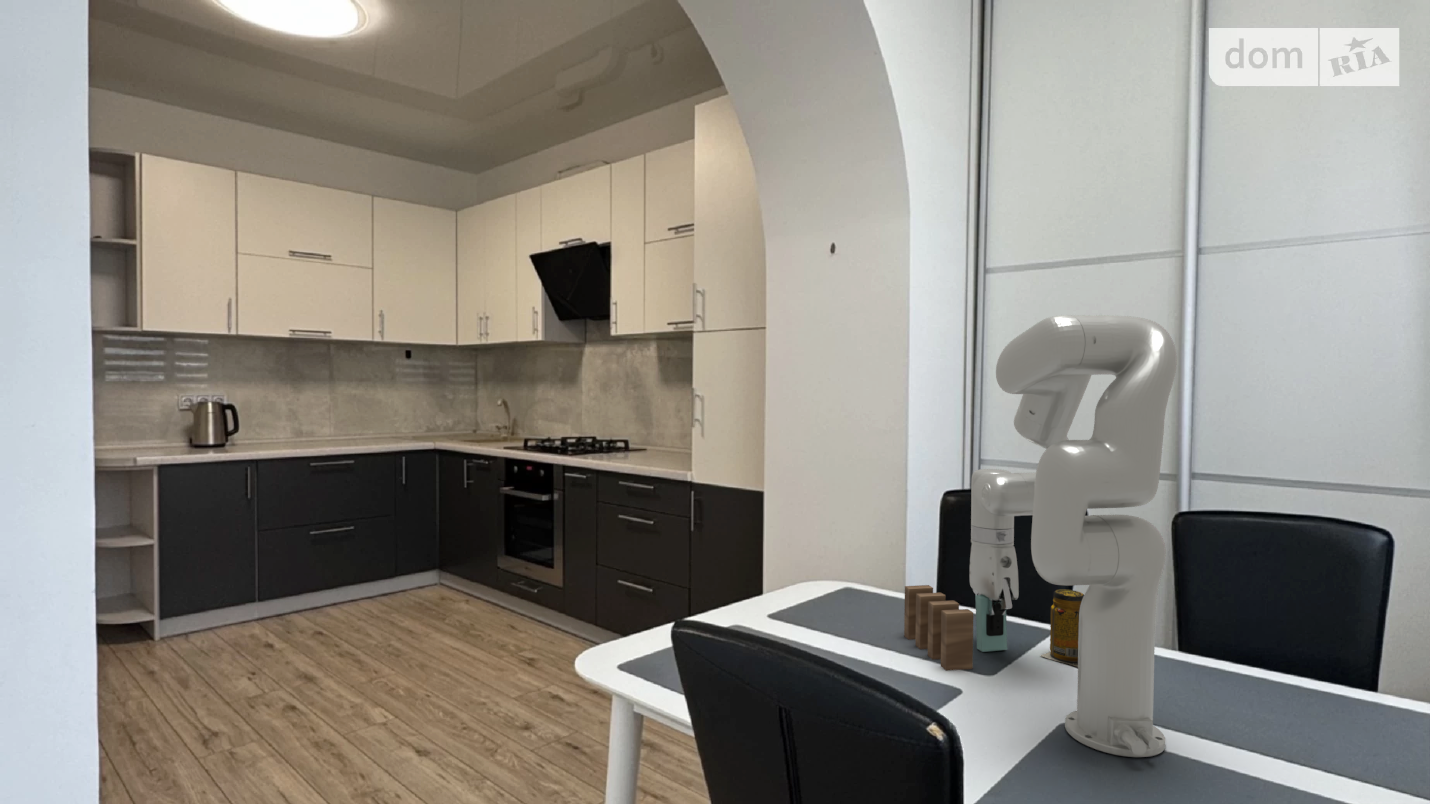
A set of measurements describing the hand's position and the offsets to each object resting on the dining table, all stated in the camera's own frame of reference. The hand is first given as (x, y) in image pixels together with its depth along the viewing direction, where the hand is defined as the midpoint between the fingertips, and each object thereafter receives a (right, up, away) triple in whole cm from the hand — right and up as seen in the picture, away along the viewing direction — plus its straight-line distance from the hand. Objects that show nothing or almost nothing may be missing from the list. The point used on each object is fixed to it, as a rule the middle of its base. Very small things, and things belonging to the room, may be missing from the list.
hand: (991, 632), depth 140 cm
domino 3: (-10, -3, -3) cm, 11 cm away
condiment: (+13, -4, -4) cm, 14 cm away
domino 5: (0, -3, 0) cm, 3 cm away
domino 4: (-9, -4, -8) cm, 13 cm away
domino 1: (-12, -3, +7) cm, 14 cm away
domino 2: (-11, -3, +2) cm, 12 cm away
